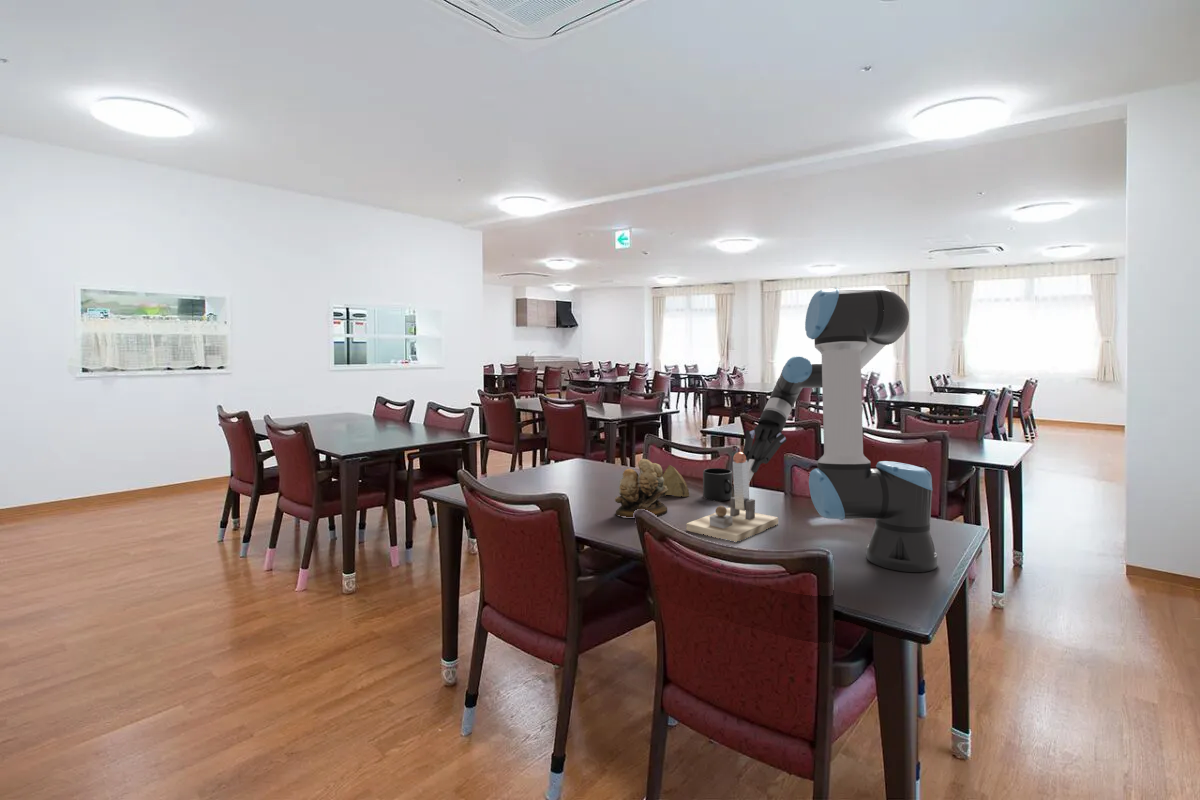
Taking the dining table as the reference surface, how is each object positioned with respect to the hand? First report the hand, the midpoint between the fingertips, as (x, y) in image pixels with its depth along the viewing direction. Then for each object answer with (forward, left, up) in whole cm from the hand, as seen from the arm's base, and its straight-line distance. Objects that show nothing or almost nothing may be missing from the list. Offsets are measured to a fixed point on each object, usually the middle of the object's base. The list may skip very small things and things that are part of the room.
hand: (745, 480), depth 178 cm
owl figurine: (+18, +25, -13) cm, 33 cm away
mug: (+26, -5, -13) cm, 30 cm away
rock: (+35, +8, -13) cm, 38 cm away
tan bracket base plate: (-4, +6, -12) cm, 14 cm away
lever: (-1, +1, -8) cm, 8 cm away
